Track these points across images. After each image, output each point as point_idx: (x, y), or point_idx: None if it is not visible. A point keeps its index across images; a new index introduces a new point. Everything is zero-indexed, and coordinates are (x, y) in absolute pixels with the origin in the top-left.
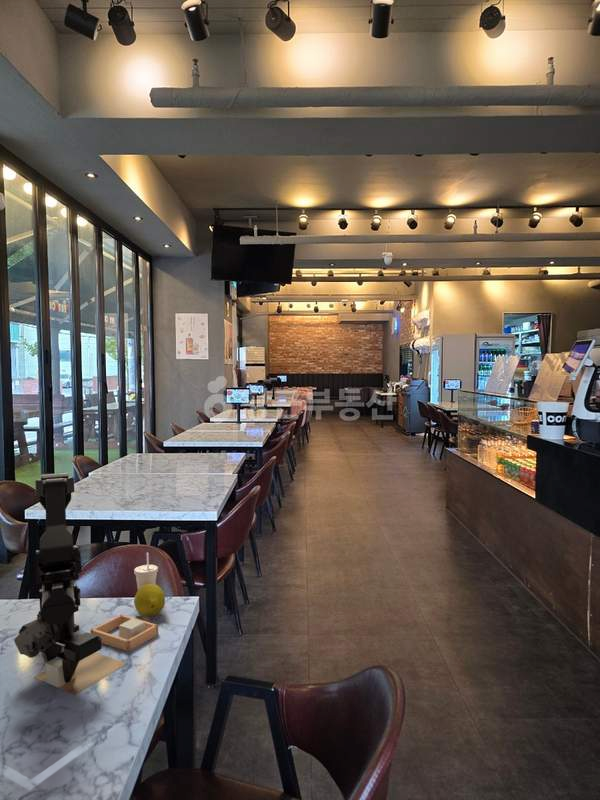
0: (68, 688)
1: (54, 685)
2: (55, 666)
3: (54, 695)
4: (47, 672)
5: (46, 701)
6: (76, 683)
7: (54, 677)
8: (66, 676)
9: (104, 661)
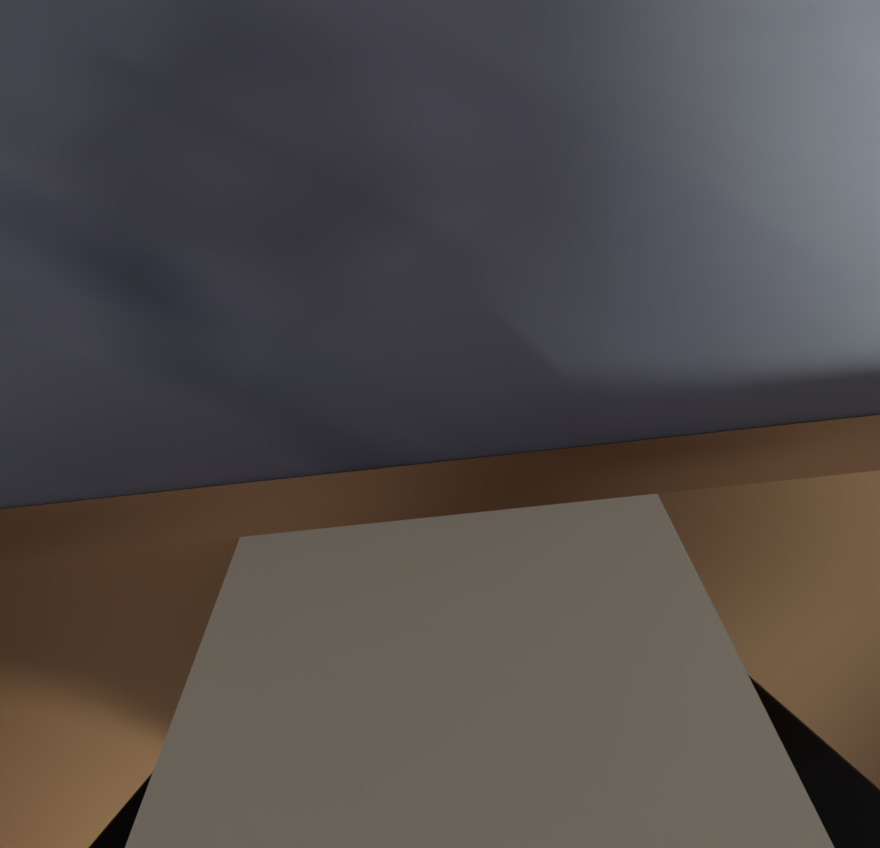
0: (72, 616)
1: (369, 529)
2: None
3: (235, 397)
4: (658, 682)
5: (136, 200)
6: (136, 743)
7: (344, 663)
8: (130, 807)
9: None
